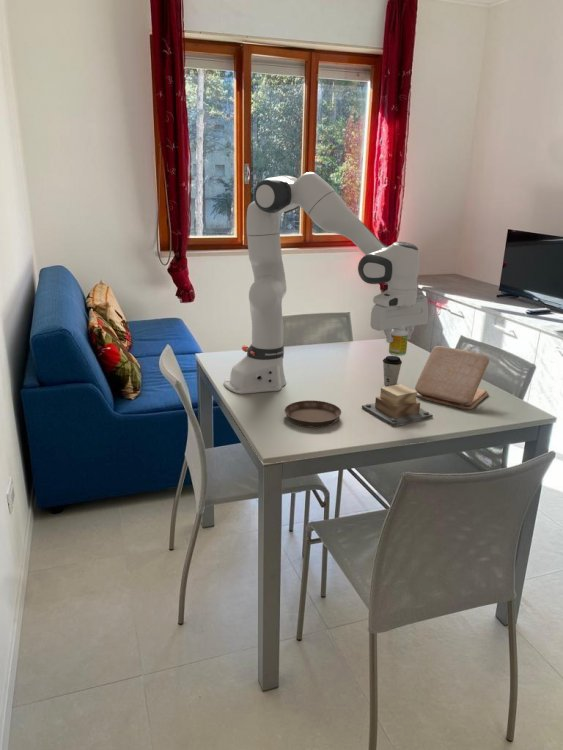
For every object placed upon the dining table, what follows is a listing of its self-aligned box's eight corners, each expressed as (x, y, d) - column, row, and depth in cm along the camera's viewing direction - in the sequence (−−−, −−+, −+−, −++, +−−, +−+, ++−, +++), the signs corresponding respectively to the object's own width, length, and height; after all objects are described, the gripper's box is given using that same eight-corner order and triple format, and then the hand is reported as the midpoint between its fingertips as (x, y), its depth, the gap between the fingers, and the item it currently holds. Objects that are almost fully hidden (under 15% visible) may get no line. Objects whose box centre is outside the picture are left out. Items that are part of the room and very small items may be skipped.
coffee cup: (387, 387, 211) (389, 361, 208) (377, 381, 217) (379, 355, 214) (403, 385, 214) (406, 359, 210) (393, 379, 220) (395, 354, 216)
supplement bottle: (402, 357, 180) (405, 326, 177) (385, 354, 183) (388, 324, 179) (408, 353, 184) (411, 322, 181) (392, 350, 187) (394, 320, 184)
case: (411, 397, 203) (416, 353, 198) (436, 381, 219) (441, 340, 214) (468, 413, 192) (476, 366, 186) (490, 395, 208) (497, 352, 202)
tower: (392, 426, 179) (395, 402, 176) (361, 408, 192) (363, 385, 189) (432, 417, 186) (435, 394, 183) (399, 400, 199) (402, 378, 197)
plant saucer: (272, 419, 182) (272, 410, 181) (308, 404, 195) (308, 395, 194) (317, 436, 171) (317, 426, 170) (351, 419, 184) (352, 410, 183)
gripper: (421, 292, 185) (417, 334, 189) (368, 298, 176) (366, 342, 180) (435, 295, 180) (430, 339, 184) (382, 301, 170) (378, 347, 175)
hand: (398, 340), depth 182 cm, fingers closed on supplement bottle, 5 cm apart
